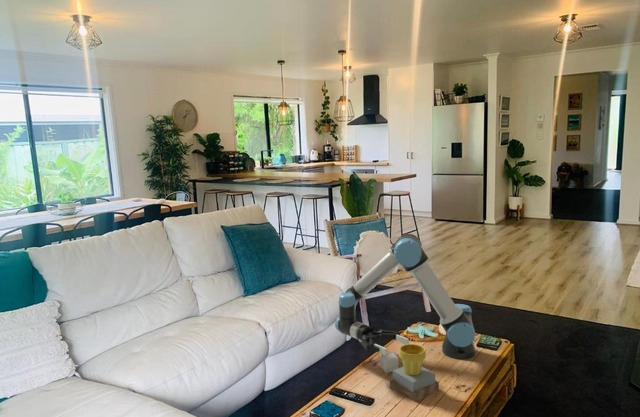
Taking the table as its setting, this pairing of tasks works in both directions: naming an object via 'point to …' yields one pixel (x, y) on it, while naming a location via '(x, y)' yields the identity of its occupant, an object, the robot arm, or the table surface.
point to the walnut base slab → (416, 394)
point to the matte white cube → (389, 362)
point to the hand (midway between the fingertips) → (397, 347)
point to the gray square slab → (414, 379)
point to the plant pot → (412, 358)
